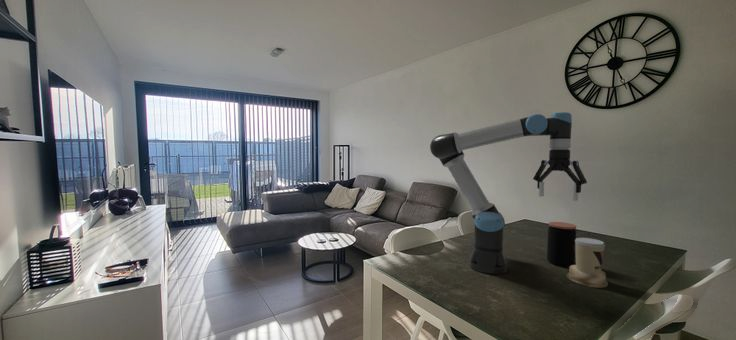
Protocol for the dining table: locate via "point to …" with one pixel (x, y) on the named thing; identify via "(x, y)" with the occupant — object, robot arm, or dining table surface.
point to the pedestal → (587, 278)
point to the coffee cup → (589, 255)
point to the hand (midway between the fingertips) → (557, 198)
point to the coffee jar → (561, 244)
